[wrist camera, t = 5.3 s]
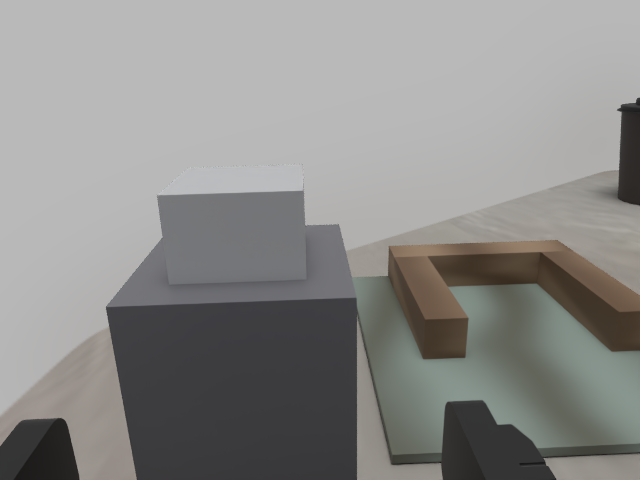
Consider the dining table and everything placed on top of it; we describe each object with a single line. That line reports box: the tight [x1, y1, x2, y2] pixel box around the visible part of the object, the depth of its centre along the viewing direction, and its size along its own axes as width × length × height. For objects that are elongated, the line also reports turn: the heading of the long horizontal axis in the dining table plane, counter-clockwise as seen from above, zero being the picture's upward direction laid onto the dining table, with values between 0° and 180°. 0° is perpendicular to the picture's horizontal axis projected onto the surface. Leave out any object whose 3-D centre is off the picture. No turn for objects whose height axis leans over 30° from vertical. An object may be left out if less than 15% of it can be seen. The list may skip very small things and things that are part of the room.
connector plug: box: [106, 164, 357, 480], centre depth 11 cm, size 4×4×12 cm
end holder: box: [352, 240, 640, 464], centre depth 25 cm, size 16×16×2 cm
